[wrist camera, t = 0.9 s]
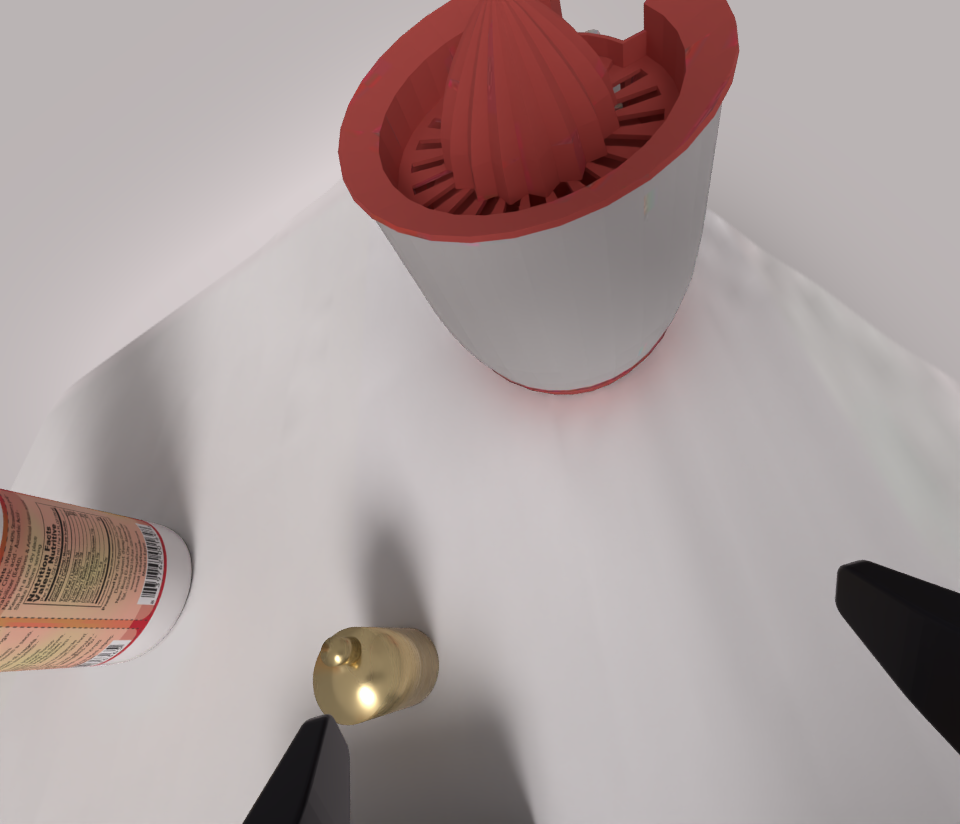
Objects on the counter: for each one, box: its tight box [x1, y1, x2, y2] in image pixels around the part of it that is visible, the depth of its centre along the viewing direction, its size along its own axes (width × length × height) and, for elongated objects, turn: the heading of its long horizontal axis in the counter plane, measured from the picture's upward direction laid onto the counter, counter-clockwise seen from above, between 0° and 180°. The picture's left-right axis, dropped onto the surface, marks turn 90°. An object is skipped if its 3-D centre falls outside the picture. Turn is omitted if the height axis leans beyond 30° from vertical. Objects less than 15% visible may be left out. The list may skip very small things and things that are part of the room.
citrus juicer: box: [338, 0, 739, 394], centre depth 25 cm, size 16×17×20 cm
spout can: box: [313, 627, 439, 725], centre depth 24 cm, size 4×4×8 cm
